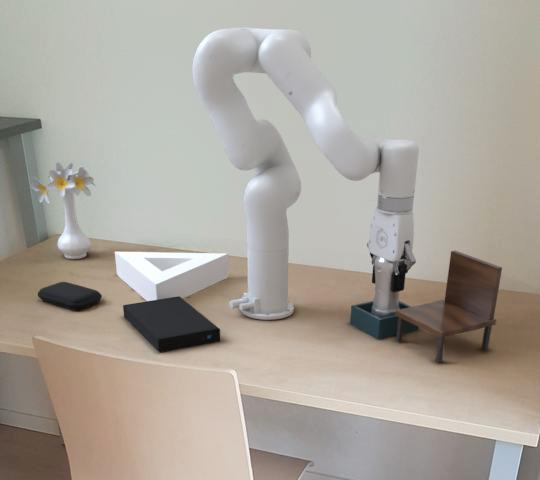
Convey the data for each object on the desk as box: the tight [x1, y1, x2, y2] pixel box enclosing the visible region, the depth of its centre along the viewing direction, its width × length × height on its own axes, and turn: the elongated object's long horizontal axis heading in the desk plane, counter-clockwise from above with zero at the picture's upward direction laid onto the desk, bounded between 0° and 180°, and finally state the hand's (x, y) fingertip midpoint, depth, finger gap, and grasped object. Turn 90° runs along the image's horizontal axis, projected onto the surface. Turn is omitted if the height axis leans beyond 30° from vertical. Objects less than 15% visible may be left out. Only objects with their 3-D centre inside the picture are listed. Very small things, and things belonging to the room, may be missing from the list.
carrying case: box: [37, 281, 103, 311], centre depth 192 cm, size 11×3×15 cm
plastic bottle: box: [371, 256, 402, 318], centre depth 175 cm, size 6×7×20 cm
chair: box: [395, 250, 503, 364], centre depth 166 cm, size 15×15×18 cm
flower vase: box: [29, 160, 96, 260], centre depth 217 cm, size 13×18×25 cm
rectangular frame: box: [349, 300, 420, 340], centre depth 179 cm, size 12×11×4 cm
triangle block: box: [114, 251, 230, 302], centre depth 203 cm, size 30×26×6 cm
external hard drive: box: [122, 296, 221, 353], centre depth 177 cm, size 14×23×3 cm, turn 27°
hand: (387, 286), depth 175 cm, fingers closed on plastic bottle, 6 cm apart
